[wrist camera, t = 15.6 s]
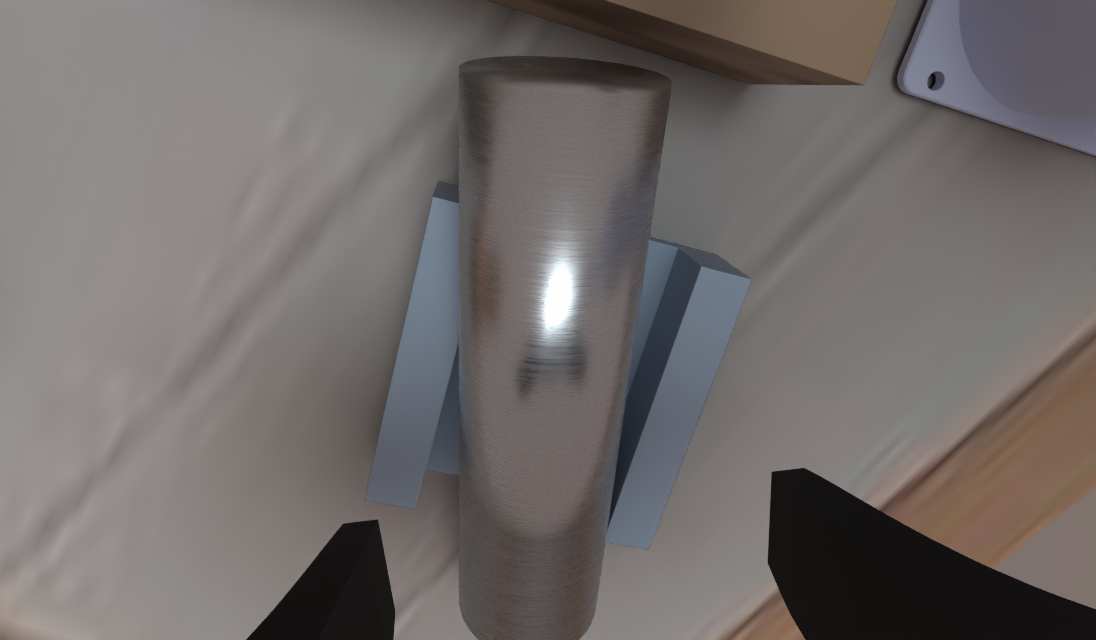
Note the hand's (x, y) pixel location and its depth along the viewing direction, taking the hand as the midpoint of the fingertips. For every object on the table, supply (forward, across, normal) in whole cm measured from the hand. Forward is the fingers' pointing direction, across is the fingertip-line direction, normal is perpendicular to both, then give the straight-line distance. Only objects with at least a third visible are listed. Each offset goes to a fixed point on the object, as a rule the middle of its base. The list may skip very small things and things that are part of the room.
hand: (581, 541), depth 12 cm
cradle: (+10, 0, 0) cm, 10 cm away
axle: (+6, 0, 0) cm, 6 cm away
